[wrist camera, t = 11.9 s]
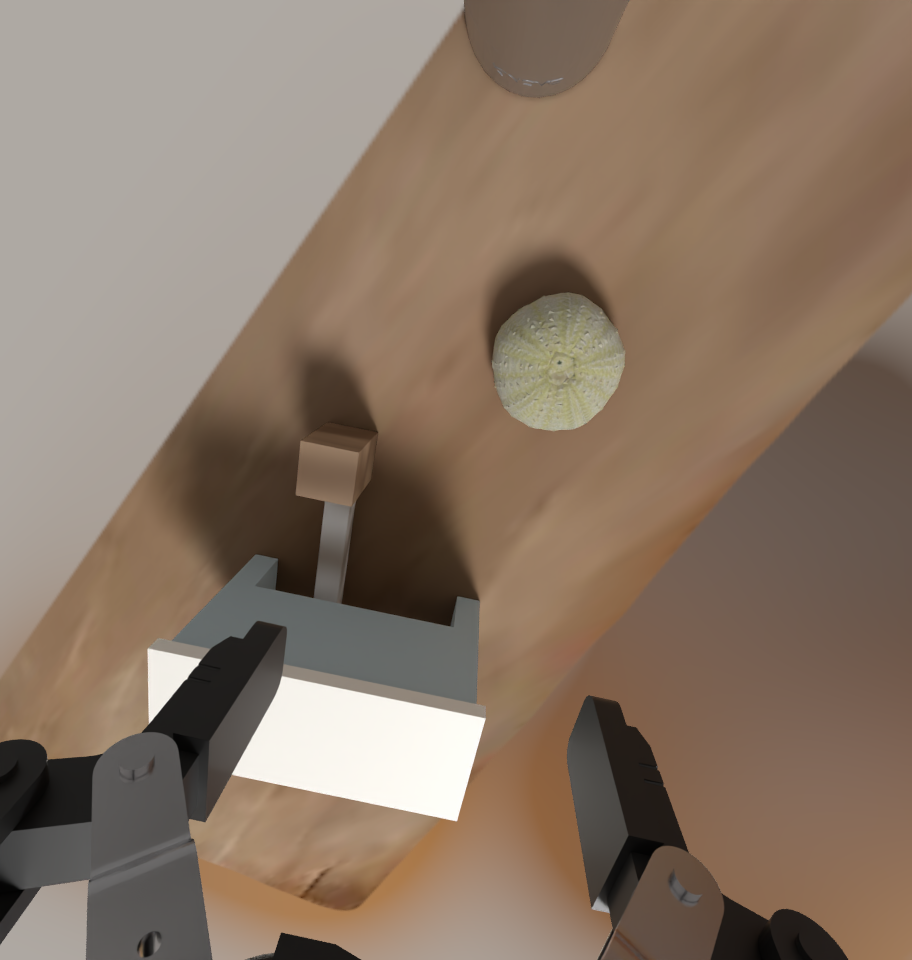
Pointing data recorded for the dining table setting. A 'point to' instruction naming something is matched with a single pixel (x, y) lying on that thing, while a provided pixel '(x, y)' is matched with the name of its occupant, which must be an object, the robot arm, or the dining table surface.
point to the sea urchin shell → (557, 362)
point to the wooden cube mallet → (335, 494)
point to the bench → (347, 694)
